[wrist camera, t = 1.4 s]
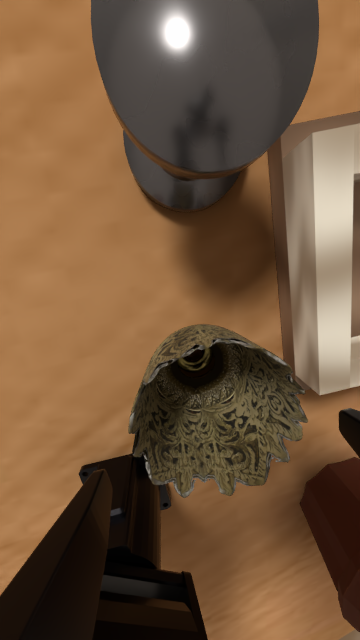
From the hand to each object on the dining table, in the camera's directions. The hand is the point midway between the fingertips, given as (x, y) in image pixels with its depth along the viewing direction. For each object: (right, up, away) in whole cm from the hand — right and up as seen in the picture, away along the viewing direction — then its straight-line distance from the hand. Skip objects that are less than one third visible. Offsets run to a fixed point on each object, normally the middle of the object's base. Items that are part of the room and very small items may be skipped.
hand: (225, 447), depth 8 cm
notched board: (+11, +9, +8) cm, 16 cm away
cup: (-1, +2, +8) cm, 9 cm away
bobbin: (-1, +15, +5) cm, 16 cm away
